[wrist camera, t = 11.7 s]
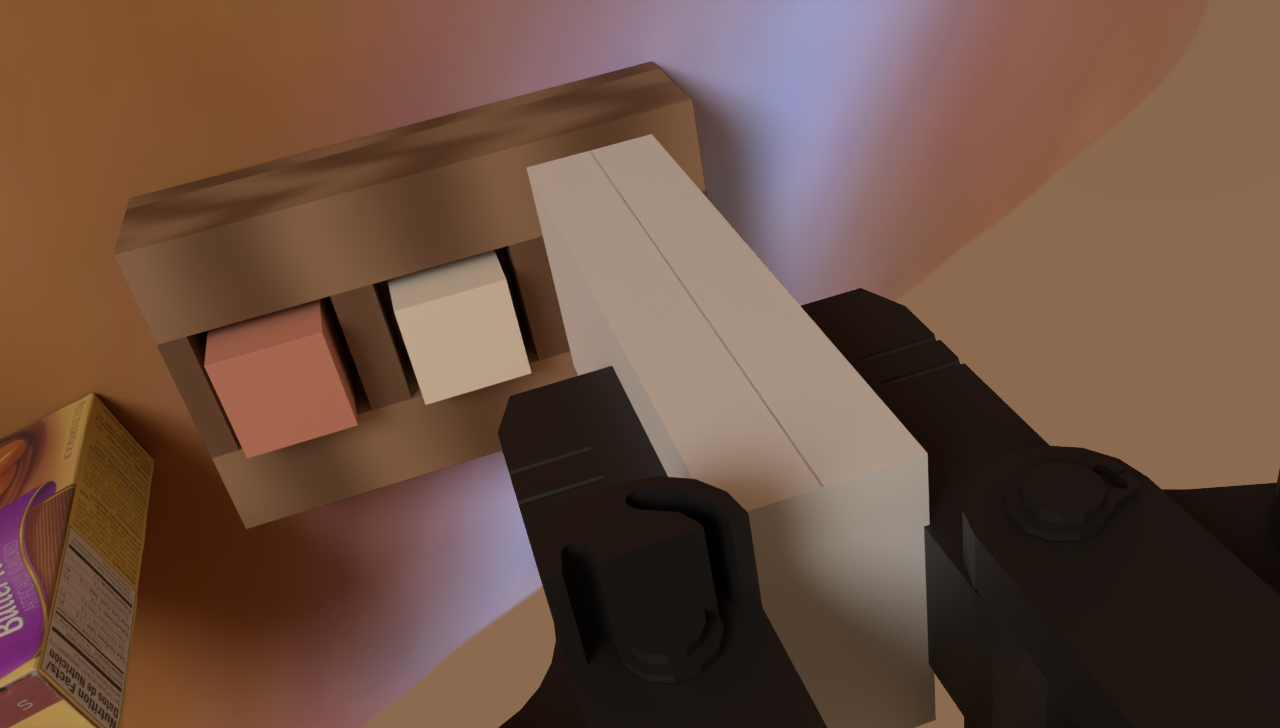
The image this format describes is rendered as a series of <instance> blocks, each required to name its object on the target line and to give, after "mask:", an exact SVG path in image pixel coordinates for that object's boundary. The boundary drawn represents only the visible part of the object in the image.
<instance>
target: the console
mask: <svg viewBox="0 0 1280 728" xmlns="http://www.w3.org/2000/svg"><path fill="white" fill-rule="evenodd" d="M650 134H652V135H653V136H654V137H655V138H656V140H657V141H658V142H659V143H660V144H661V145H662V146H663V148H664V149H665V150H666V151H667V152H668V153H669V155H670V156H671V157H672V158H673V159H674V160H675V162H676V163H677V164H678V165H679V166H680V167H681V168H682V170H683V171H684V172H685V173H686V174H687V175H688V177H689V178H690V179H691V180H692V181H693V182H694V184H695V185H696V186H697V187H698V188H699V189H700V190H701V192H702V193H703V194H704V195H705V196H706V189H705V182H704V175H703V169H702V162H701V155H700V149H699V142H698V135H697V129H696V122H695V115H694V108H693V102H692V99H691V98H690V97H689V96H688V95H687V94H686V93H685V92H684V91H683V90H682V89H681V88H679V87H678V86H677V85H676V84H675V83H674V82H673V81H672V80H671V79H670V78H669V77H668V76H667V75H666V74H665V73H664V72H663V71H661V70H660V69H659V68H658V67H657V66H656V65H655V64H654V63H653V62H648V63H644V64H640V65H637V66H633V67H629V68H625V69H621V70H618V71H614V72H610V73H606V74H602V75H599V76H595V77H591V78H587V79H583V80H580V81H576V82H572V83H568V84H564V85H560V86H557V87H553V88H549V89H545V90H541V91H538V92H534V93H530V94H526V95H522V96H519V97H515V98H511V99H507V100H503V101H500V102H496V103H492V104H488V105H484V106H481V107H477V108H473V109H469V110H465V111H462V112H458V113H454V114H450V115H446V116H442V117H439V118H435V119H431V120H427V121H423V122H420V123H416V124H412V125H408V126H404V127H401V128H397V129H393V130H389V131H385V132H382V133H378V134H374V135H370V136H366V137H363V138H359V139H355V140H351V141H347V142H344V143H340V144H336V145H332V146H328V147H324V148H321V149H317V150H313V151H309V152H305V153H302V154H298V155H294V156H290V157H286V158H283V159H279V160H275V161H271V162H267V163H264V164H260V165H256V166H252V167H248V168H245V169H241V170H237V171H233V172H229V173H225V174H222V175H218V176H214V177H210V178H206V179H203V180H199V181H195V182H191V183H187V184H184V185H180V186H176V187H172V188H168V189H165V190H161V191H157V192H153V193H149V194H146V195H142V196H138V197H134V198H130V199H129V203H128V206H127V210H126V213H125V217H124V220H123V224H122V227H121V231H120V234H119V238H118V241H117V245H116V248H115V252H114V255H113V256H114V258H115V260H116V262H117V264H118V266H119V268H120V270H121V272H122V274H123V276H124V278H125V280H126V282H127V284H128V286H129V289H130V291H131V293H132V295H133V297H134V299H135V301H136V303H137V305H138V307H139V309H140V311H141V313H142V315H143V317H144V319H145V322H146V324H147V326H148V328H149V330H150V332H151V334H152V336H153V338H154V340H155V342H156V344H157V346H158V348H159V350H160V352H161V355H162V357H163V359H164V361H165V363H166V365H167V367H168V369H169V371H170V373H171V375H172V377H173V379H174V381H175V383H176V385H177V388H178V390H179V392H180V394H181V396H182V398H183V400H184V402H185V404H186V406H187V408H188V410H189V412H190V414H191V416H192V418H193V421H194V423H195V425H196V427H197V429H198V431H199V433H200V435H201V437H202V439H203V441H204V443H205V445H206V447H207V449H208V451H209V454H210V456H211V458H212V460H213V462H214V464H215V466H216V468H217V470H218V472H219V474H220V476H221V478H222V480H223V482H224V484H225V487H226V489H227V491H228V493H229V495H230V497H231V499H232V501H233V503H234V505H235V507H236V509H237V511H238V513H239V515H240V517H241V520H242V522H243V524H244V526H245V528H246V529H249V528H252V527H255V526H258V525H261V524H265V523H268V522H271V521H274V520H278V519H281V518H284V517H287V516H291V515H294V514H297V513H300V512H304V511H307V510H310V509H313V508H316V507H320V506H323V505H326V504H329V503H333V502H336V501H339V500H342V499H346V498H349V497H352V496H355V495H359V494H362V493H365V492H368V491H371V490H375V489H378V488H381V487H384V486H388V485H391V484H394V483H397V482H401V481H404V480H407V479H410V478H414V477H417V476H420V475H423V474H426V473H430V472H433V471H436V470H439V469H443V468H446V467H449V466H452V465H456V464H459V463H462V462H465V461H469V460H472V459H475V458H478V457H481V456H485V455H488V454H491V453H494V452H498V451H501V450H502V447H501V443H500V440H499V437H498V430H499V427H500V424H501V421H502V418H503V415H504V412H505V409H506V406H507V403H508V400H509V397H510V396H512V395H515V394H518V393H522V392H525V391H528V390H532V389H535V388H539V387H542V386H545V385H549V384H552V383H555V382H559V381H562V380H565V379H569V378H572V377H576V376H578V374H577V372H576V369H575V367H574V364H573V360H572V356H571V352H570V348H569V343H568V339H567V335H566V331H565V327H564V323H563V318H562V314H561V310H560V306H559V302H558V297H557V293H556V289H555V285H554V281H553V276H552V272H551V268H550V264H549V260H548V256H547V251H546V247H545V243H544V239H543V235H542V230H541V226H540V222H539V218H538V214H537V210H536V205H535V201H534V197H533V193H532V189H531V184H530V180H529V176H528V172H527V167H531V166H534V165H538V164H542V163H546V162H549V161H553V160H557V159H561V158H564V157H568V156H572V155H575V154H579V153H583V152H587V151H590V150H594V149H598V148H602V147H605V146H609V145H613V144H617V143H620V142H624V141H628V140H632V139H635V138H639V137H643V136H646V135H650ZM706 197H707V196H706ZM492 250H494V251H495V253H496V256H497V258H498V261H499V263H500V266H501V268H502V270H503V273H504V275H505V278H506V281H507V284H508V288H509V292H510V296H511V299H512V303H513V307H514V310H515V314H516V318H517V321H518V325H519V329H520V333H521V336H522V340H523V344H524V347H525V351H526V355H527V359H528V362H529V366H530V370H531V374H527V375H524V376H521V377H517V378H514V379H511V380H507V381H504V382H501V383H497V384H494V385H491V386H487V387H484V388H481V389H477V390H474V391H471V392H467V393H464V394H461V395H457V396H454V397H451V398H447V399H444V400H441V401H437V402H434V403H431V404H427V405H425V402H424V399H423V396H422V393H421V390H420V387H419V384H418V381H417V378H416V375H415V372H414V369H413V366H412V363H411V361H410V358H409V355H408V352H407V349H406V346H405V343H404V340H403V337H402V334H401V331H400V328H399V325H398V322H397V319H396V316H395V313H394V310H393V305H392V300H391V295H390V290H389V285H388V280H389V279H392V278H396V277H399V276H403V275H406V274H410V273H414V272H417V271H421V270H424V269H428V268H431V267H435V266H438V265H442V264H445V263H449V262H453V261H456V260H460V259H463V258H467V257H470V256H474V255H477V254H481V253H484V252H488V251H492ZM321 298H324V299H325V302H326V304H327V307H328V310H329V312H330V315H331V318H332V320H333V323H334V326H335V328H336V331H337V334H338V336H339V339H340V342H341V344H342V347H343V349H344V352H345V355H346V357H347V360H348V363H349V365H350V368H351V372H352V380H353V389H354V397H355V405H356V414H357V422H358V425H357V426H354V427H351V428H347V429H344V430H341V431H337V432H334V433H331V434H327V435H324V436H321V437H317V438H314V439H311V440H307V441H304V442H301V443H297V444H294V445H291V446H287V447H284V448H281V449H277V450H274V451H271V452H267V453H264V454H261V455H257V456H254V457H251V458H247V457H246V455H245V453H244V451H243V449H242V447H241V444H240V442H239V440H238V438H237V436H236V434H235V431H234V429H233V427H232V425H231V423H230V421H229V419H228V416H227V414H226V412H225V410H224V408H223V406H222V403H221V401H220V399H219V397H218V395H217V393H216V390H215V388H214V386H213V384H212V382H211V380H210V377H209V375H208V373H207V371H206V369H205V367H204V363H205V353H206V343H207V333H208V330H212V329H215V328H219V327H222V326H226V325H229V324H233V323H236V322H240V321H243V320H247V319H251V318H254V317H258V316H261V315H265V314H268V313H272V312H275V311H279V310H282V309H286V308H289V307H293V306H297V305H300V304H304V303H307V302H311V301H314V300H318V299H321Z"/></svg>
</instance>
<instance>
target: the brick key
mask: <svg viewBox="0 0 1280 728" xmlns="http://www.w3.org/2000/svg"><path fill="white" fill-rule="evenodd" d="M204 367H205V369H206V371H207V373H208V375H209V377H210V380H211V382H212V384H213V386H214V388H215V390H216V393H217V395H218V397H219V399H220V401H221V403H222V406H223V408H224V410H225V412H226V414H227V416H228V419H229V421H230V423H231V425H232V427H233V429H234V431H235V434H236V436H237V438H238V440H239V442H240V444H241V447H242V449H243V451H244V453H245V455H246V457H247V458H251V457H254V456H257V455H261V454H264V453H267V452H271V451H274V450H277V449H281V448H284V447H287V446H291V445H294V444H297V443H301V442H304V441H307V440H311V439H314V438H317V437H321V436H324V435H327V434H331V433H334V432H337V431H341V430H344V429H347V428H351V427H354V426H357V425H358V422H357V414H356V405H355V397H354V389H353V380H352V372H351V368H350V365H349V363H348V360H347V357H346V355H345V352H344V349H343V347H342V344H341V342H340V339H339V336H338V334H337V331H336V328H335V326H334V323H333V320H332V318H331V315H330V312H329V310H328V307H327V304H326V302H325V299H324V298H321V299H318V300H314V301H311V302H307V303H304V304H300V305H297V306H293V307H289V308H286V309H282V310H279V311H275V312H272V313H268V314H265V315H261V316H258V317H254V318H251V319H247V320H243V321H240V322H236V323H233V324H229V325H226V326H222V327H219V328H215V329H212V330H208V333H207V343H206V353H205V363H204Z"/></svg>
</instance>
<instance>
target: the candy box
mask: <svg viewBox="0 0 1280 728" xmlns="http://www.w3.org/2000/svg"><path fill="white" fill-rule="evenodd" d="M153 468H154V459H153V458H152V457H151V456H149V455H148V453H147V452H146V451H145V450H144V449H143V448H142V447H141V446H140V444H139V443H138V442H137V441H136V440H135V439H134V438H133V437H132V435H131V434H130V433H129V432H128V431H127V429H126V428H125V427H124V426H123V425H122V424H121V423H120V422H119V421H118V419H117V418H116V417H115V416H114V415H113V414H112V413H111V411H110V410H109V409H108V408H107V407H106V406H105V404H104V403H103V402H102V401H101V400H100V399H99V398H98V397H97V395H96V394H89V395H87V396H86V397H84V398H82V399H80V400H78V401H76V402H74V403H72V404H69V405H67V406H65V407H63V408H62V409H59V410H57V411H55V412H53V413H51V414H49V415H48V416H46V417H44V418H41V419H39V420H38V421H36V422H35V423H33V424H31V425H29V426H27V427H25V428H23V429H21V430H18V431H17V432H15V433H12V434H10V435H8V436H6V437H4V438H2V439H0V728H122V722H123V714H124V707H125V699H126V690H127V682H128V674H129V665H130V656H131V649H132V641H133V633H134V624H135V617H136V610H137V599H138V588H139V580H140V574H141V564H142V556H143V550H144V543H145V535H146V522H147V514H148V505H149V497H150V490H151V482H152V475H153Z"/></svg>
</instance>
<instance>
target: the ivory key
mask: <svg viewBox="0 0 1280 728" xmlns="http://www.w3.org/2000/svg"><path fill="white" fill-rule="evenodd" d="M388 285H389V290H390V295H391V300H392V305H393V310H394V313H395V316H396V319H397V322H398V325H399V328H400V331H401V334H402V337H403V340H404V343H405V346H406V349H407V352H408V355H409V358H410V361H411V363H412V366H413V369H414V372H415V375H416V378H417V381H418V384H419V387H420V390H421V393H422V396H423V399H424V402H425V405H427V404H431V403H434V402H437V401H441V400H444V399H447V398H451V397H454V396H457V395H461V394H464V393H467V392H471V391H474V390H477V389H481V388H484V387H487V386H491V385H494V384H497V383H501V382H504V381H507V380H511V379H514V378H517V377H521V376H524V375H527V374H531V370H530V366H529V362H528V359H527V355H526V351H525V347H524V344H523V340H522V336H521V333H520V329H519V325H518V321H517V318H516V314H515V310H514V307H513V303H512V299H511V296H510V292H509V288H508V284H507V281H506V278H505V275H504V273H503V270H502V268H501V266H500V263H499V261H498V258H497V256H496V253H495V251H494V250H492V251H488V252H484V253H481V254H477V255H474V256H470V257H467V258H463V259H460V260H456V261H453V262H449V263H445V264H442V265H438V266H435V267H431V268H428V269H424V270H421V271H417V272H414V273H410V274H406V275H403V276H399V277H396V278H392V279H389V280H388Z"/></svg>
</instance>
